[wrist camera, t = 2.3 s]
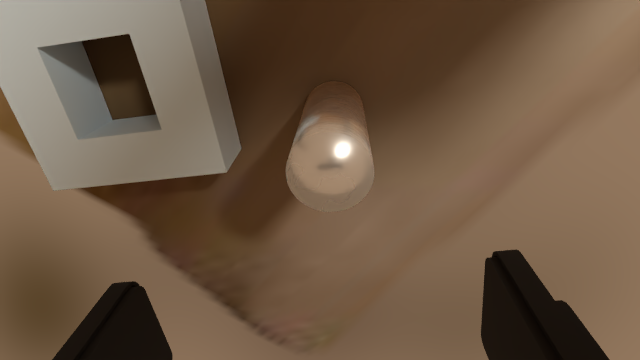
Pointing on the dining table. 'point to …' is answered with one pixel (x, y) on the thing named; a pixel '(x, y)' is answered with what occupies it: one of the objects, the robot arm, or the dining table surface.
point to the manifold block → (87, 99)
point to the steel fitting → (331, 150)
